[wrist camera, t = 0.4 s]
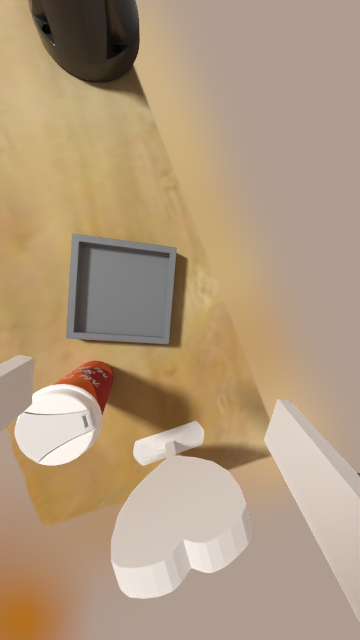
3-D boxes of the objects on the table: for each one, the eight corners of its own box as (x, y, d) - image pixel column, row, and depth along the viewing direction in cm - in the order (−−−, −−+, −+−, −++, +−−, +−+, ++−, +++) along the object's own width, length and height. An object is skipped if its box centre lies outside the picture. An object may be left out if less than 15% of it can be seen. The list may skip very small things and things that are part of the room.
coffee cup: (113, 349, 34) (87, 379, 20) (124, 393, 35) (107, 455, 20) (63, 361, 33) (-6, 403, 19) (75, 406, 34) (20, 482, 19)
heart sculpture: (132, 469, 36) (116, 624, 19) (124, 444, 36) (101, 579, 18) (211, 441, 38) (266, 555, 21) (205, 417, 38) (256, 513, 20)
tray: (77, 239, 33) (72, 233, 30) (174, 251, 35) (176, 247, 33) (72, 336, 33) (66, 338, 31) (167, 341, 36) (168, 344, 33)
